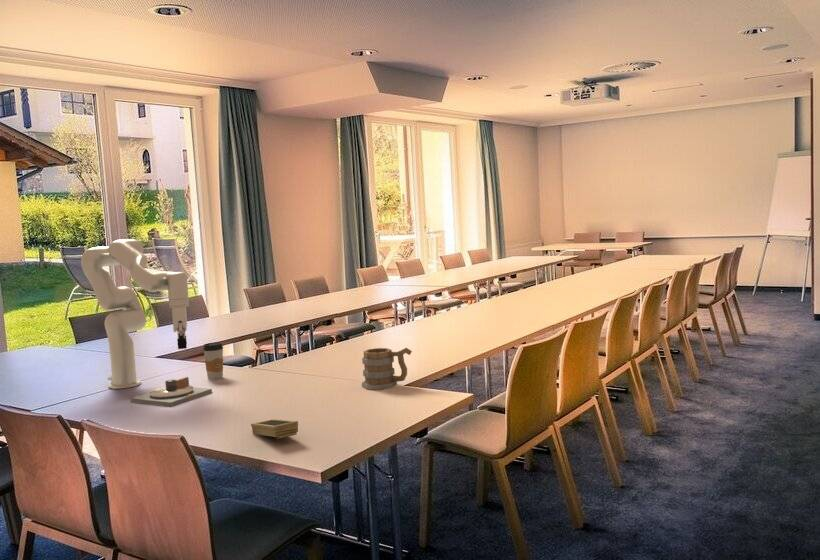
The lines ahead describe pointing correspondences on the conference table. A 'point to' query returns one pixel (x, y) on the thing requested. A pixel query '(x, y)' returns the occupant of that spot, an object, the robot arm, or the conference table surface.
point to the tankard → (382, 368)
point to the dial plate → (171, 398)
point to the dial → (173, 389)
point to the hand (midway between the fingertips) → (182, 346)
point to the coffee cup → (214, 360)
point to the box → (275, 428)
